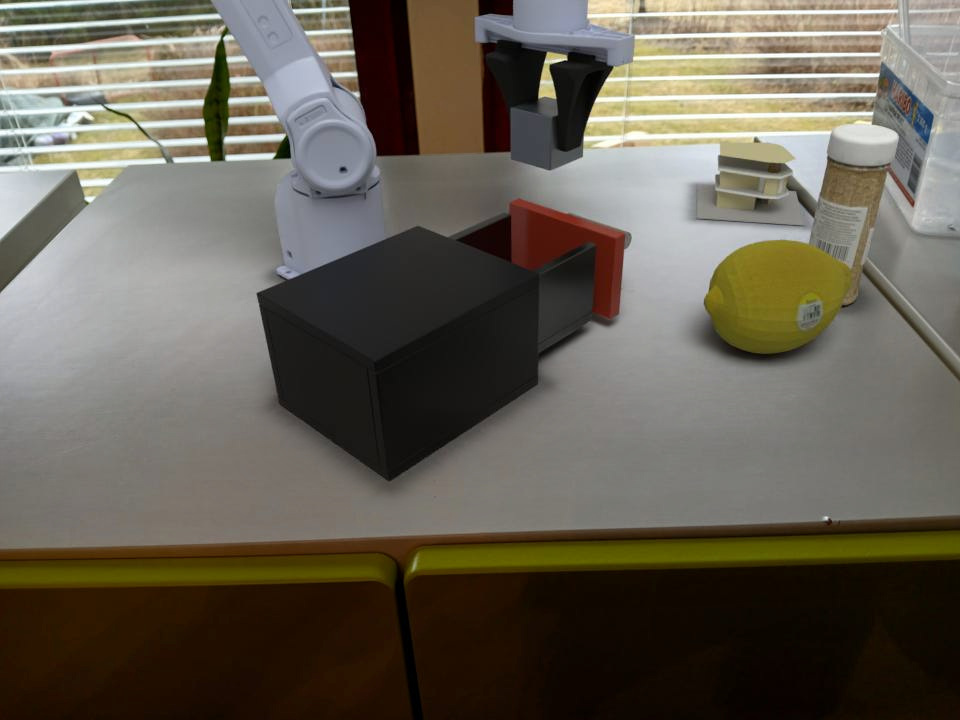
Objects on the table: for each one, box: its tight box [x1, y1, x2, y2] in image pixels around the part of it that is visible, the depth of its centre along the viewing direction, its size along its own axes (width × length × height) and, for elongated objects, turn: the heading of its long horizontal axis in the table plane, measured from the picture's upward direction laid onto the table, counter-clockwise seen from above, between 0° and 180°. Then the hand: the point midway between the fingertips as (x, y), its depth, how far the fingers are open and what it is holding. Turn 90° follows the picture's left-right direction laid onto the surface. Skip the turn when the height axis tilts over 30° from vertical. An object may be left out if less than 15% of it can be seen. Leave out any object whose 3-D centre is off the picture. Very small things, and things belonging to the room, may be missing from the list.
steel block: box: [510, 96, 585, 172], centre depth 66 cm, size 4×4×4 cm
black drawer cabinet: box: [256, 225, 540, 482], centre depth 52 cm, size 14×12×9 cm
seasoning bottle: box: [808, 123, 900, 306], centre depth 61 cm, size 5×5×13 cm
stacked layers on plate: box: [696, 142, 805, 226], centre depth 79 cm, size 10×9×6 cm
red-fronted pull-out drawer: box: [447, 197, 632, 354], centre depth 60 cm, size 17×10×7 cm, turn 136°
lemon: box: [703, 239, 852, 355], centre depth 56 cm, size 11×8×8 cm
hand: (547, 142), depth 67 cm, fingers closed on steel block, 4 cm apart
